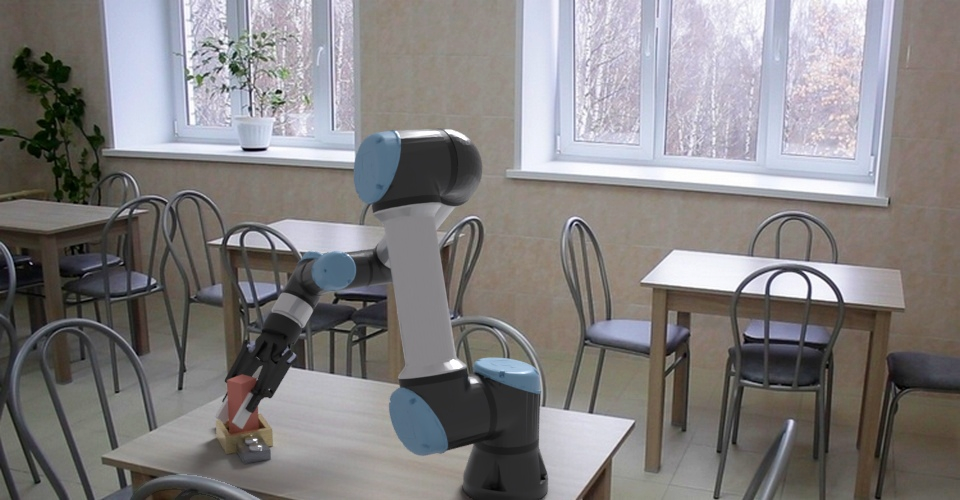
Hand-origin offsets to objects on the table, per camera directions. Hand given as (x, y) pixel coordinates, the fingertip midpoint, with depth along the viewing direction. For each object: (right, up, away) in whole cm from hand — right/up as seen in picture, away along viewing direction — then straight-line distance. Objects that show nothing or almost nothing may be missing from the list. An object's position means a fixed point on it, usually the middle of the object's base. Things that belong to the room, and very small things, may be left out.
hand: (228, 422), depth 189 cm
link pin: (+2, -3, +4) cm, 5 cm away
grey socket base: (+2, -4, +4) cm, 6 cm away
